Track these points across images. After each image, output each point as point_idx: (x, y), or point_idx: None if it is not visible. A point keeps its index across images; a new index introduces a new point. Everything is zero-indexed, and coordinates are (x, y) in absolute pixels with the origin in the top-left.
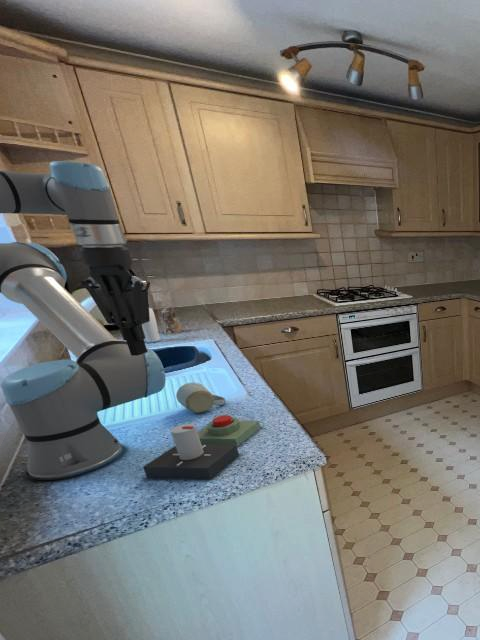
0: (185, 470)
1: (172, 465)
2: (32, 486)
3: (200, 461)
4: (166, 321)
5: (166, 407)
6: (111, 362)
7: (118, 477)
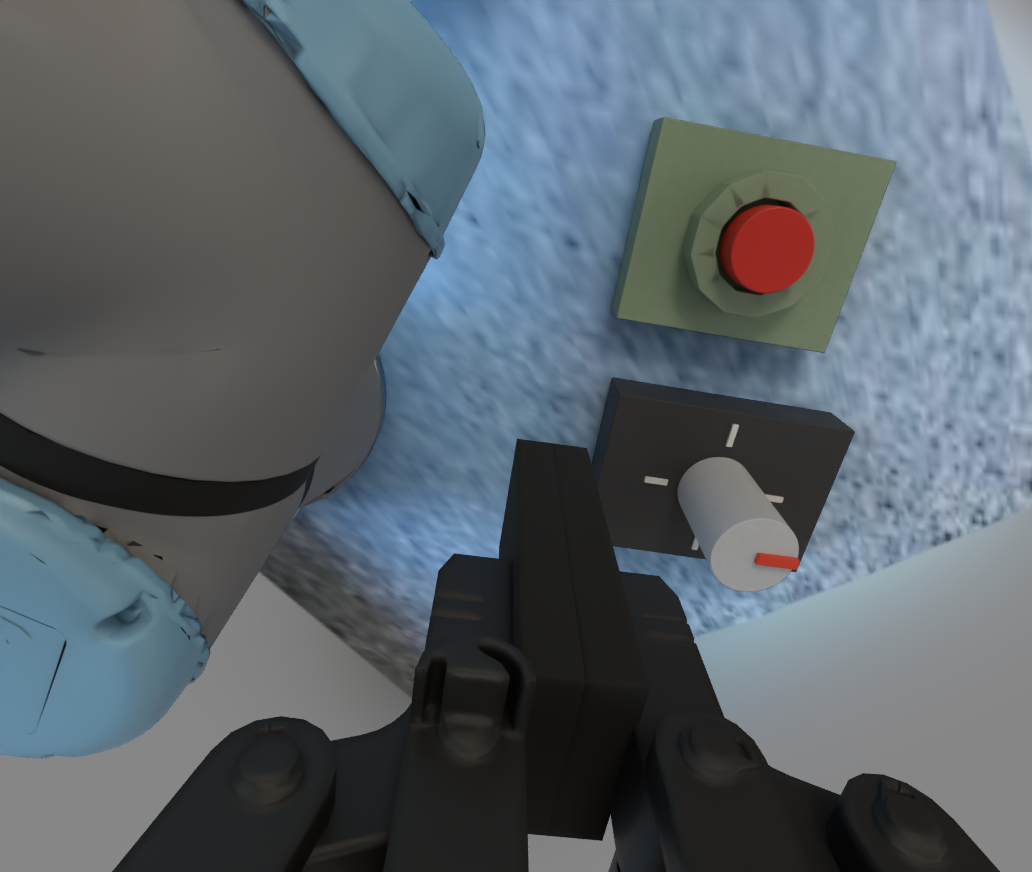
0: None
1: (676, 545)
2: None
3: None
4: None
5: None
6: (204, 359)
7: (481, 499)
